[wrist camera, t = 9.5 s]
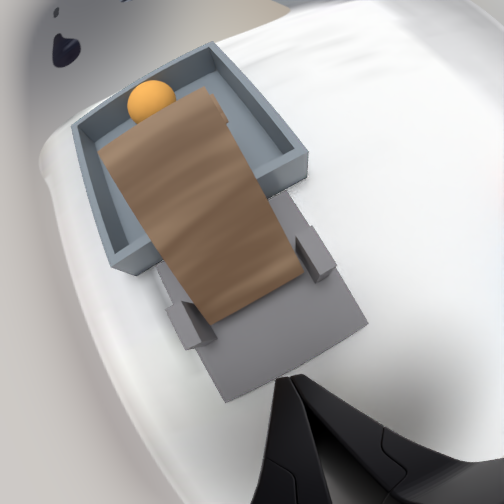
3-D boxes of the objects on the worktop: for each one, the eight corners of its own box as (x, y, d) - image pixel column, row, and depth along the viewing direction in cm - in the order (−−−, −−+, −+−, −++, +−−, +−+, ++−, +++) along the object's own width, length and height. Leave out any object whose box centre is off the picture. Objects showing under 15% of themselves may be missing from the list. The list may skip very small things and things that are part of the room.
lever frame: (365, 323, 19) (384, 323, 14) (228, 399, 19) (210, 418, 14) (286, 196, 21) (283, 164, 17) (161, 268, 21) (130, 254, 17)
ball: (170, 88, 24) (189, 119, 24) (131, 111, 24) (147, 143, 24) (157, 63, 20) (177, 95, 20) (113, 89, 20) (129, 124, 20)
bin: (307, 177, 21) (308, 151, 18) (136, 276, 21) (110, 267, 18) (220, 67, 25) (212, 41, 22) (91, 144, 25) (70, 125, 22)
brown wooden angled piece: (310, 268, 17) (211, 82, 13) (204, 329, 17) (90, 156, 13) (276, 233, 24) (206, 105, 20) (200, 276, 24) (124, 154, 20)
